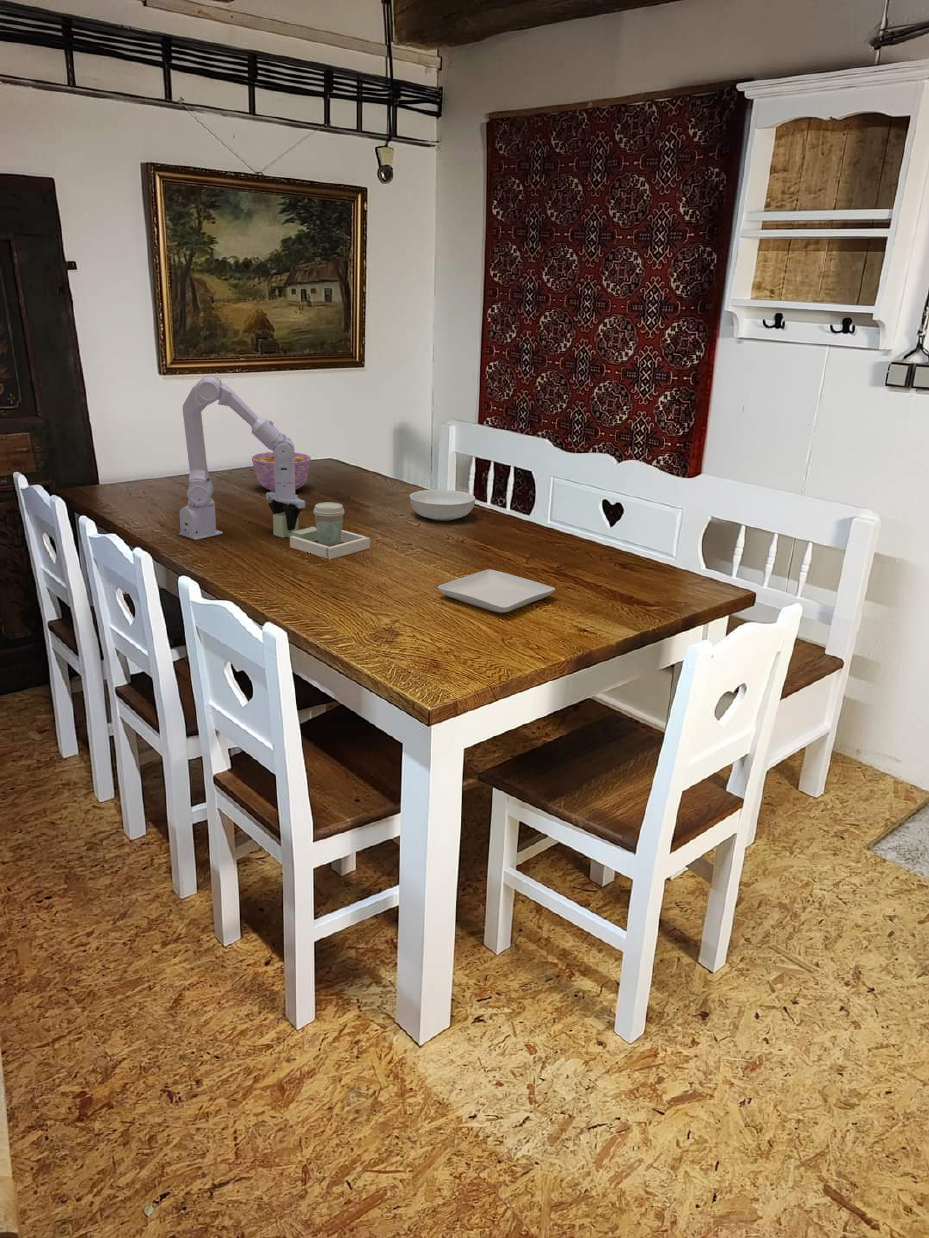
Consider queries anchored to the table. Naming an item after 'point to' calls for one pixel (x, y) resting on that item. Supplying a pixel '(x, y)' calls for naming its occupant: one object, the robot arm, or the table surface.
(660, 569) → the table surface
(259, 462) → the bowl of food
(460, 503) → the serving bowl
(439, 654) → the table surface
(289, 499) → the robot arm
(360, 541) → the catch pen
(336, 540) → the coffee cup
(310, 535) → the square dumbbell
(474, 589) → the salad plate
